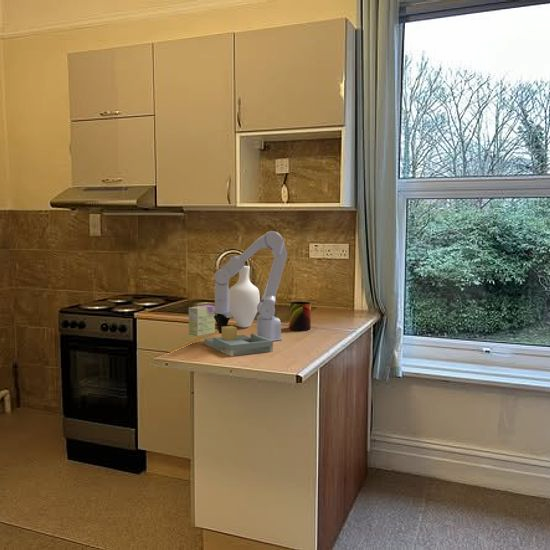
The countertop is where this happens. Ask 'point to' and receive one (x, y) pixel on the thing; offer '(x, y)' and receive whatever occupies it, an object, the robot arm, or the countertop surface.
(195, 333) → the box
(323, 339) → the countertop surface
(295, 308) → the mug
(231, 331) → the ochre block
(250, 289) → the vase
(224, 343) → the trap tray
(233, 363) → the countertop surface
